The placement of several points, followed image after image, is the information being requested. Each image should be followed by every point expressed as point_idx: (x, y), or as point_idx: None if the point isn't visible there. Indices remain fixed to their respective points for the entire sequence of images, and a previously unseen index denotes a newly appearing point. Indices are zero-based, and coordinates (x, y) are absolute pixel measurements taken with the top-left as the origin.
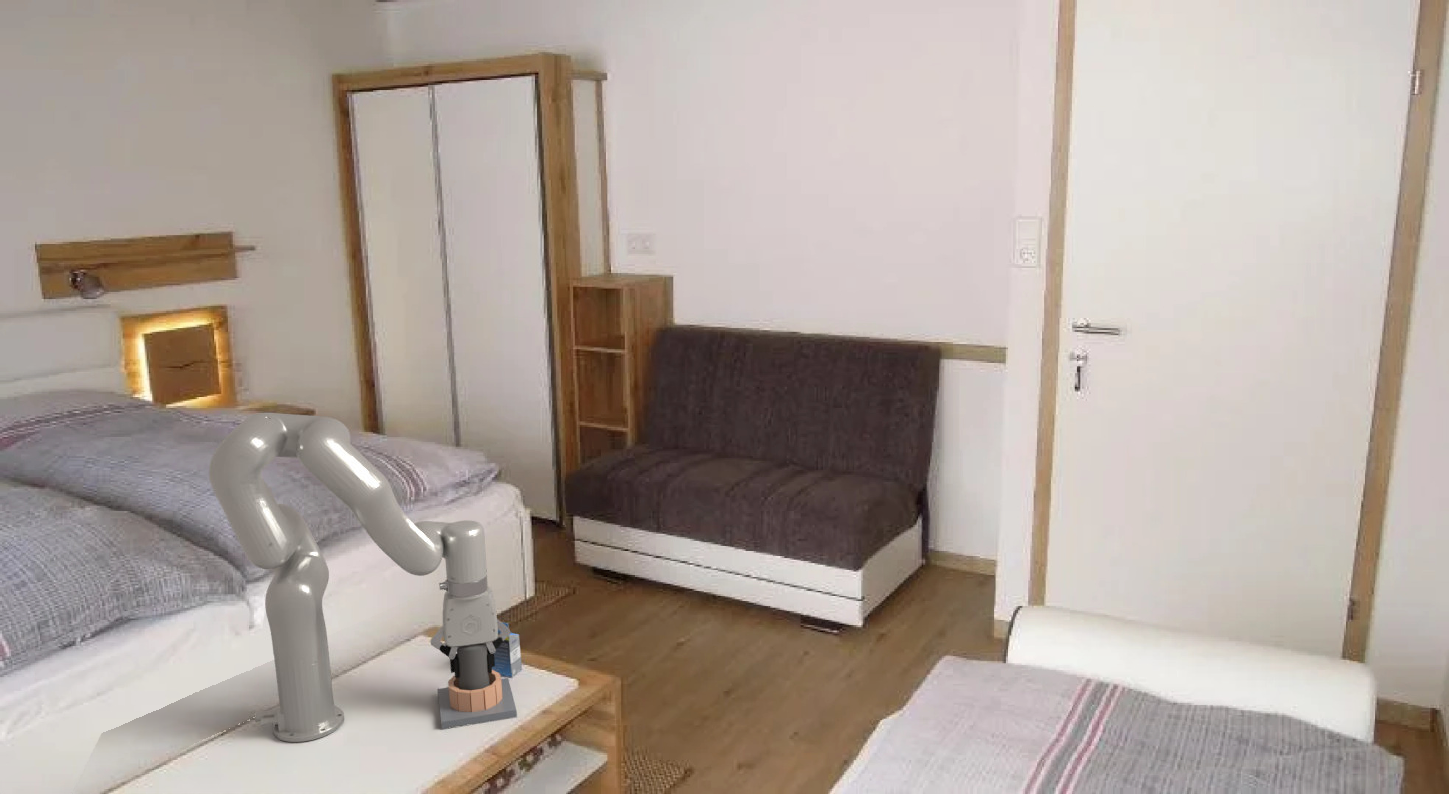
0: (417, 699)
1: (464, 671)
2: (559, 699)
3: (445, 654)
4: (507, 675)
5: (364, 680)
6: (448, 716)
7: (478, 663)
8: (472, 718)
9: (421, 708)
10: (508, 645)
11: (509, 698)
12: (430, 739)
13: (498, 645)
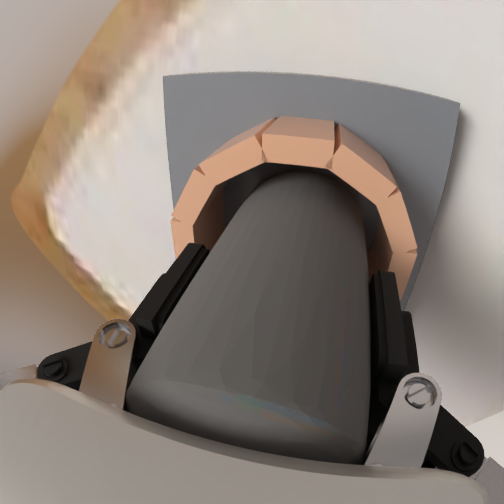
0: (443, 318)
1: (347, 271)
2: (70, 151)
3: (450, 417)
4: None
5: (473, 406)
6: (427, 132)
7: (234, 274)
8: (338, 78)
9: (457, 271)
10: None
11: (181, 170)
12: (490, 59)
13: (74, 352)
